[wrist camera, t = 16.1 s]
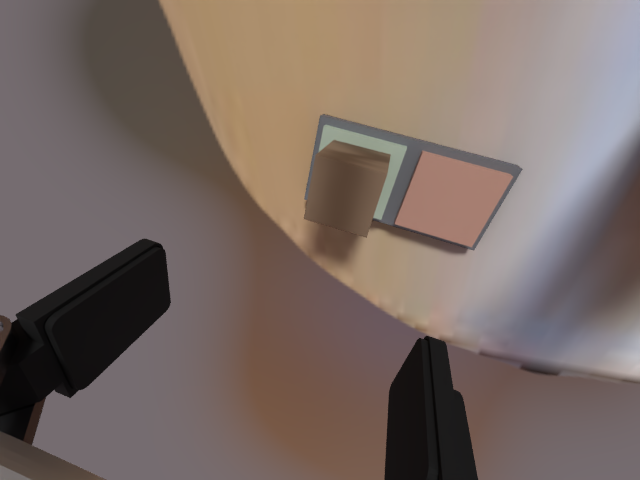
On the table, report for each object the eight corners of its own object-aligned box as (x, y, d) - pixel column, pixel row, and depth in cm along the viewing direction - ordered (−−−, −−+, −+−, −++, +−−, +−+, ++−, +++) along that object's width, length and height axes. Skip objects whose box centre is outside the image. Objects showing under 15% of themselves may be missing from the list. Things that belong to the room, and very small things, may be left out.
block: (390, 154, 24) (387, 173, 19) (373, 207, 26) (366, 237, 21) (333, 139, 24) (315, 154, 19) (322, 193, 27) (303, 218, 22)
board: (517, 165, 24) (526, 171, 22) (471, 244, 28) (475, 254, 26) (323, 114, 26) (317, 116, 24) (307, 195, 30) (301, 202, 28)
